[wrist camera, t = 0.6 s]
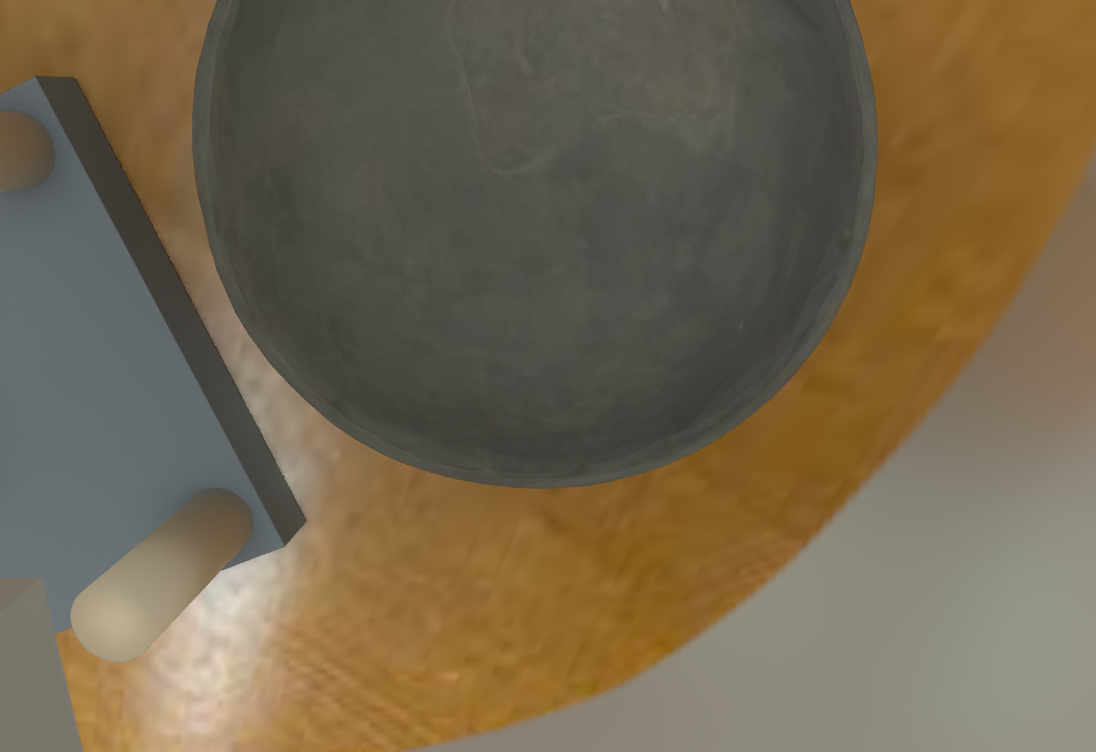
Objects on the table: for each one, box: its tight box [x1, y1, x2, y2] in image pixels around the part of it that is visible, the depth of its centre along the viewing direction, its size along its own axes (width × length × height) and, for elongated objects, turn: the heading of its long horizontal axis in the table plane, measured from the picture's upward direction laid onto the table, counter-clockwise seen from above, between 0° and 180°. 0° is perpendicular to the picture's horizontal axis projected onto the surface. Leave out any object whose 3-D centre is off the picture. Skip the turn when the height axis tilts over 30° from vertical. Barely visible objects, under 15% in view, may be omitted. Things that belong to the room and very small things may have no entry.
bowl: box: [192, 0, 877, 489], centre depth 33 cm, size 21×21×8 cm
